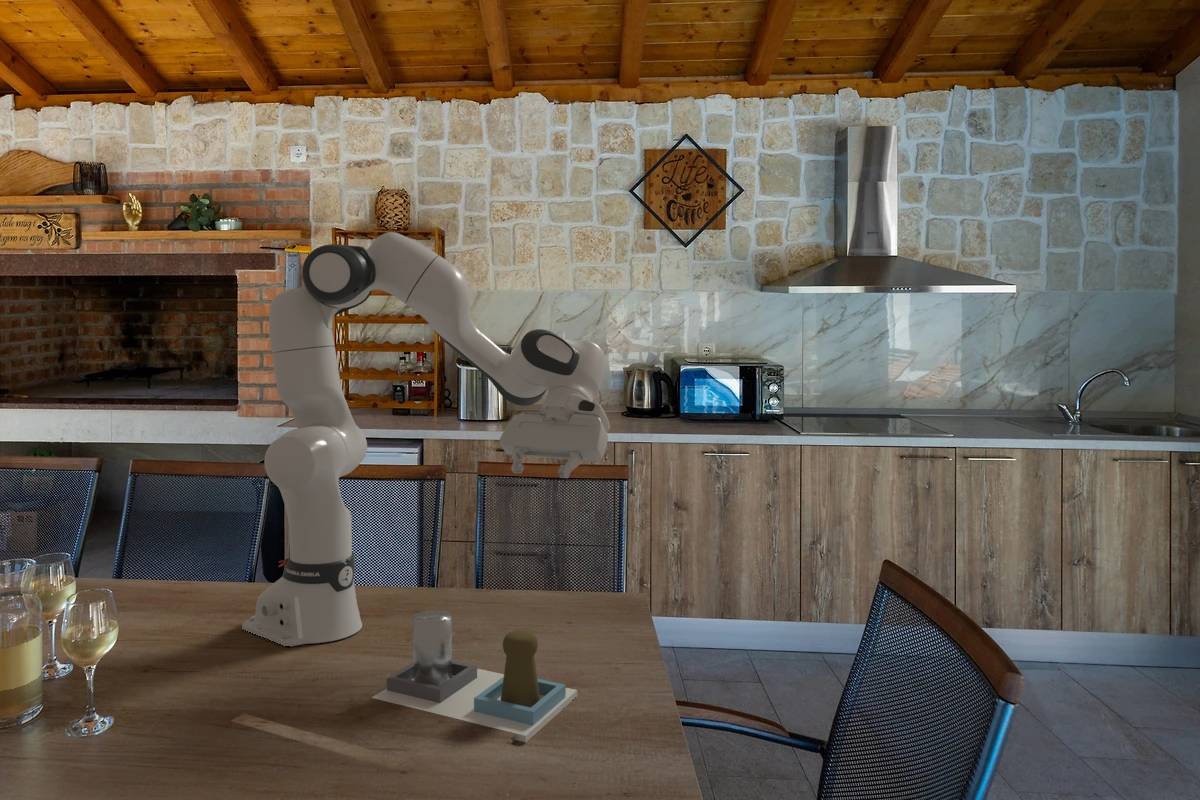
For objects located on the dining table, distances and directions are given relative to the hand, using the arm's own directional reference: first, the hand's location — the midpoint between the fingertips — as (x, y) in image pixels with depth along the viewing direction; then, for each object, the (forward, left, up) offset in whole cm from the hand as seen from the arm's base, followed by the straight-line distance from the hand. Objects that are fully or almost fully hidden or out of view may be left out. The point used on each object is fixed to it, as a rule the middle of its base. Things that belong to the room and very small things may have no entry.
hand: (538, 473), depth 147 cm
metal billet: (-6, -23, -30) cm, 39 cm away
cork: (+10, -23, -31) cm, 40 cm away
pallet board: (+2, -23, -31) cm, 39 cm away
